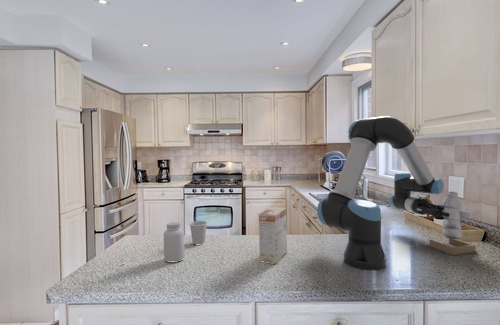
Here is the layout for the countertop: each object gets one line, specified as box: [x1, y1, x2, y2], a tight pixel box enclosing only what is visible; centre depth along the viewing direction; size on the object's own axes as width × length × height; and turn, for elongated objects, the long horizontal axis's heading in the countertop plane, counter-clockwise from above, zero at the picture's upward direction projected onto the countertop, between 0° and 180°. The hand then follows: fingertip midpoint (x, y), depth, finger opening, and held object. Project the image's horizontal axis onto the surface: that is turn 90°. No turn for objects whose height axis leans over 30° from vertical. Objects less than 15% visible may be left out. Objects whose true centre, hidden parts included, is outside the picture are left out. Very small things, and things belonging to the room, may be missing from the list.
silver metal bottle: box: [442, 191, 463, 240], centre depth 119 cm, size 6×7×20 cm
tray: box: [428, 238, 478, 257], centre depth 119 cm, size 12×12×3 cm
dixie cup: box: [189, 220, 208, 245], centre depth 134 cm, size 8×8×10 cm
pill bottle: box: [163, 221, 185, 262], centre depth 113 cm, size 8×8×15 cm
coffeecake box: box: [258, 206, 288, 265], centre depth 114 cm, size 15×7×20 cm, turn 154°
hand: (464, 216), depth 114 cm, fingers closed on silver metal bottle, 6 cm apart
